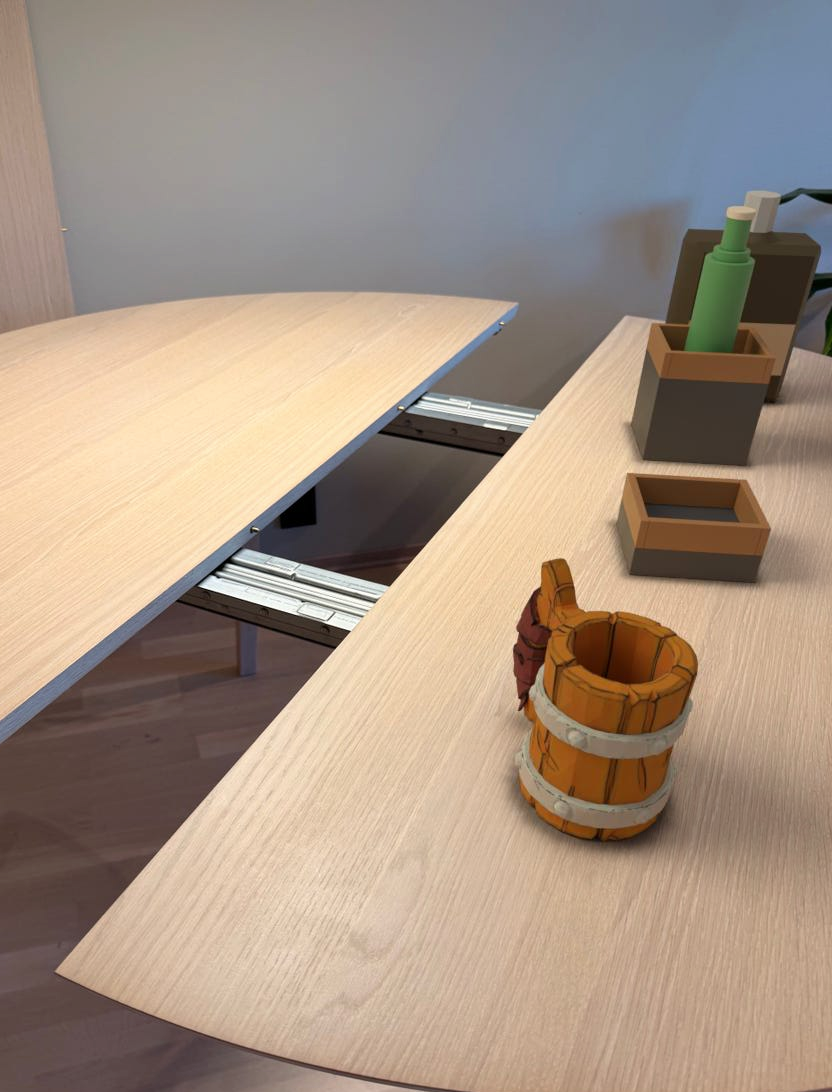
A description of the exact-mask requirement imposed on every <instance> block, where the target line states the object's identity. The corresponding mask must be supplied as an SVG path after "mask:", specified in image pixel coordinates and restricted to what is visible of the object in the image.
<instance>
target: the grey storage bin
mask: <svg viewBox="0 0 832 1092" xmlns="http://www.w3.org/2000/svg"><path fill="white" fill-rule="evenodd" d="M689 327H690V325H686V324H666V323H665V322H664V323H663V322H651V323H650V329H649V334H648V339H647V343H646V348H645V353H644V358H643V363H642V368H641V374H640V378H639V383H638V388H637V393H636V399H635V402H634V403H635V404H634V407H633V412H632V413H633V414H632V418H631V421H630V424H631V425H630V426H631V429H632V432H633V435H634V438H635V441H636V444H637V447H638V450H639V454H640V457H641V460H643V461H657V462H658V461H659V462H675V463H678V462H679V463H695V464H713V465H728V466H730V465H731V466H746V465H747V462H748V458H749V455H750V451H751V448H752V445H753V441H754V437H755V434H756V431H757V427H758V424H759V420H760V418H761V417H760V416H761V412H762V410H763V406H764V402H765V401H764V399H765V395H766V392H767V388H768V385H769V381H770V377H771V374H772V370H773V367H774V363H775V360H776V358H775V356H774V355H773V353H772V352H771V351H770V349H769V348H768V346H767V345H766V344H765V342H764V341H763V339H762V338H761V337H760V335H759V334H758V332H757V331H756V330H755V328H747V327H738V331H737V335H736V339H735V343H734V346H733V350H732V354H731V353H712V352H692V351H684V349H685V345H686V340H687V336H688V331H689Z"/></svg>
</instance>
